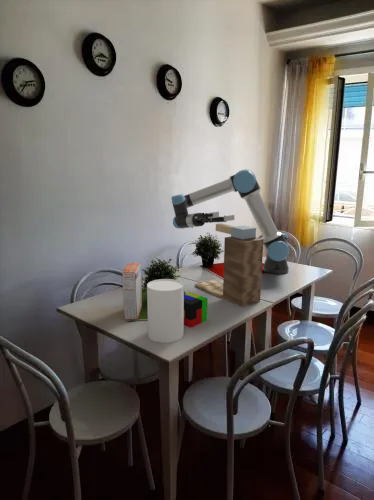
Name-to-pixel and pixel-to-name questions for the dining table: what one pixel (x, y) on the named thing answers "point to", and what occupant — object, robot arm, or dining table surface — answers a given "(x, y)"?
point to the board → (212, 287)
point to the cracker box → (132, 291)
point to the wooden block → (242, 270)
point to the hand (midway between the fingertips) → (226, 216)
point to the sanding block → (237, 231)
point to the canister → (165, 310)
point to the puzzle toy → (194, 309)
